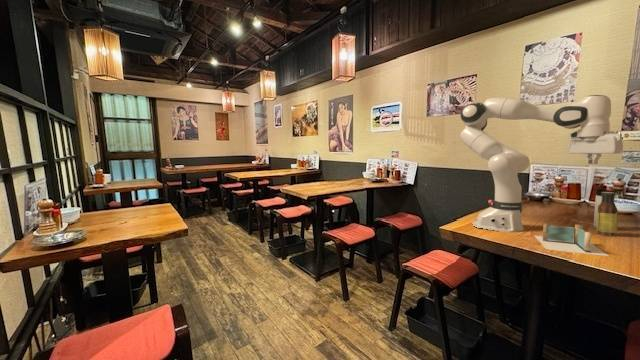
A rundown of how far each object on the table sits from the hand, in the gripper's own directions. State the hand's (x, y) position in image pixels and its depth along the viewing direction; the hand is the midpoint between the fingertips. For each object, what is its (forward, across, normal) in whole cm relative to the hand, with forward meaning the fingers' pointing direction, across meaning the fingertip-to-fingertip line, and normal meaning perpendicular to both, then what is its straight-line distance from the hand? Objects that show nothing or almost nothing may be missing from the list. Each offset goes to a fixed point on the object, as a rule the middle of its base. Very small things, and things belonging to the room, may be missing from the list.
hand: (592, 164), depth 115 cm
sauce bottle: (+33, +1, -9) cm, 35 cm away
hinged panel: (+32, -16, +17) cm, 40 cm away
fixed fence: (+33, -8, +19) cm, 39 cm away
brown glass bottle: (+33, +10, -18) cm, 39 cm away
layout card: (+33, -11, +19) cm, 40 cm away
